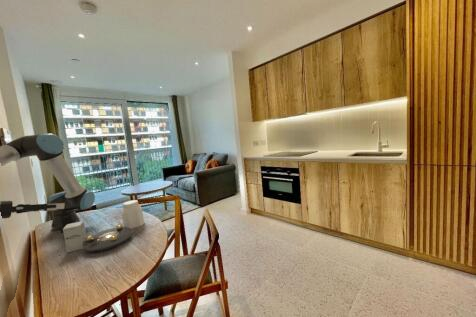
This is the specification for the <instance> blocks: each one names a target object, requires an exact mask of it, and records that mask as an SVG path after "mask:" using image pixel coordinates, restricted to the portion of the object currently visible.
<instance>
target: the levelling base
mask: <svg viewBox="0 0 476 317" xmlns="http://www.w3.org/2000/svg"><path fill="white" fill-rule="evenodd" d="M115 226H116V227H113V228H109V229H105V230H101V231H98V232H97V233H95V234H92V235H91V234H90V235H86V237H85V241H84V242H83V249H82V250H83V251H84V252H85V251H86V252H87V253H88V252H89V253H98V252H101V251H105V250H108V249H112V248H114V247H117V246H119V245H121V244H123V243H124V242H126V241H127V240H129V239H130V238H131V236H132V234H133V232H132V229H130V228H128V227H124V225H123V223H121V224H118V225H115Z"/></svg>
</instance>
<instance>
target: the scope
mask: <svg viewBox="0 0 476 317" xmlns="http://www.w3.org/2000/svg"><path fill="white" fill-rule="evenodd" d="M71 216H72V214H71V213H70V214H65V215H62V216H60V219H62V220H61V224H62V229H61V230H59V231H60V233H61V234H63V235H64V233H63V228H64V227H65V226H66V225H67V224H71V223H74V221H73V218H72V217H71ZM76 222H77V221H76Z"/></svg>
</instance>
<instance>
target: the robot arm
mask: <svg viewBox="0 0 476 317" xmlns="http://www.w3.org/2000/svg"><path fill="white" fill-rule="evenodd" d="M64 146H65V145H64V142H63V139H61V137H60V136H58V135H56V134H54V133H39V134H30V135H25V136H24V135H23V136H21V137H18V138H16V139H14V140H11V141H8V142H7V143H6V144H3V145H1V146H0V163H1V166H2V167H3V166H6V165H7V164H8V163H11V162H12V161H13V162H16V161H19V160H21V159H23V158H28V157H34V156H35V157H37V159H38V160H39V162H44V163H45V164H46V166H47V167H48V169H49V170H50V172H51V173H52V175H53V177H55V179H56V181H57V182H58V183H59V185H60V186H61V187H62V188H61V189H63V191H60V192H57V193H54V194H51V195H49V196H48V201H49V202H48V203H39V204H38V203H35V204H30V203H29V204H27V203H26V204H25V203H24V204H23V203H21V204H20V203H19V204H17V205H14V206H13V204H14V203H13V201H12V200H1V201H0V212H1V216H2V219H10V218H11V217H12V214H13V213H15V214H23V213H30V212H47V211H49V212H50V211H51V215H52V221H51V230H52V231H60V230H61V229H62V224H61V220H62V219H60V216H62V215H65V214H70V213H71V214H72V216H71V217H72V218H73V221H74V223H76V221H77V222H81V220H80V218H79V216H78V215H77V212H76V211H79V210H86V209H87V210H88V209H90V208H92V206H93V205H94V203H95V201H96V195H95V193H94V192H93V191H91V190H87V188H86V187H85V186H84V185H82V184H80V182H79V181H78V179H77V178H76V176H75V174H74V173H73V171H72V169H71V167H70V166H69V165H68V163H67V162H66V160H65V159H64V157H63V155H64V149H65V147H64Z"/></svg>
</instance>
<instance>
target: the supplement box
mask: <svg viewBox="0 0 476 317" xmlns="http://www.w3.org/2000/svg"><path fill="white" fill-rule="evenodd" d="M86 232H87V231H86V227H85V221H84V220H82V221H81V220H80V222H76V223H71V224H67V225H66V226H65V227H64V228H63V233H64V234H63V233H62V234H63V237H64V243H65V247H66V252H67V253H68V254H69V253H70V252H74V251H78V250H84V249H83V242H84V241H85V237H87V233H86Z"/></svg>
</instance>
